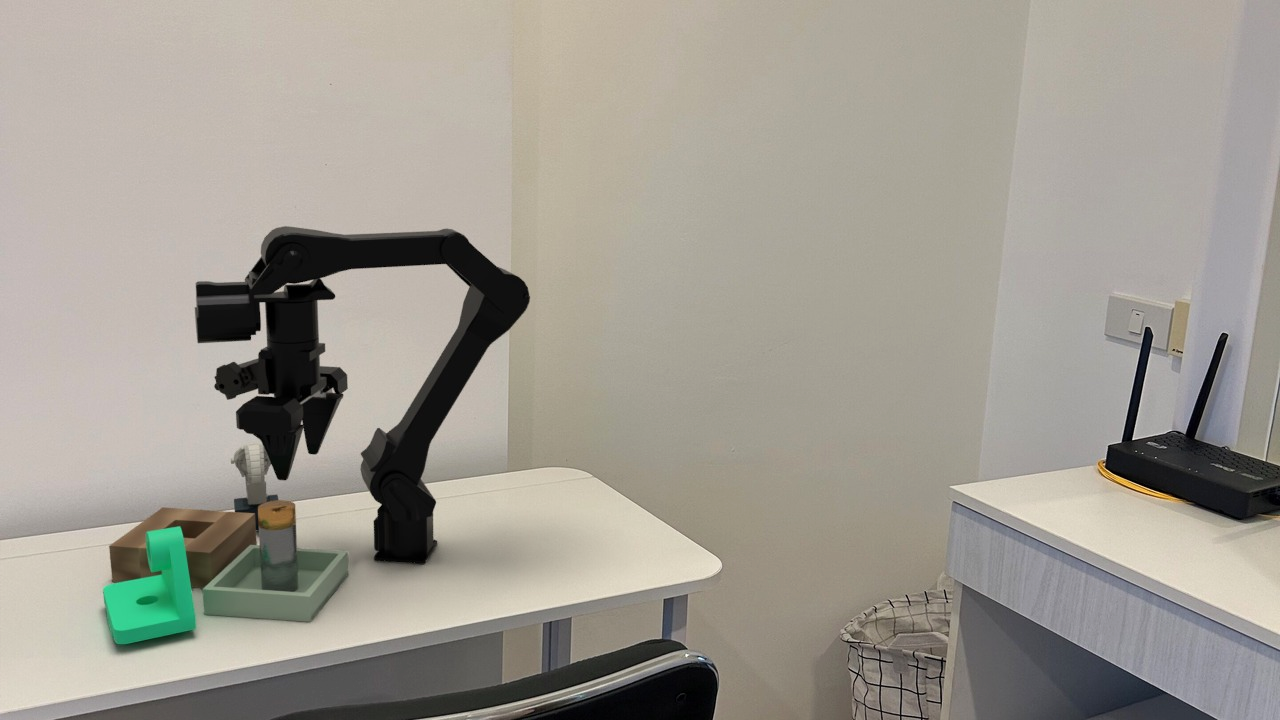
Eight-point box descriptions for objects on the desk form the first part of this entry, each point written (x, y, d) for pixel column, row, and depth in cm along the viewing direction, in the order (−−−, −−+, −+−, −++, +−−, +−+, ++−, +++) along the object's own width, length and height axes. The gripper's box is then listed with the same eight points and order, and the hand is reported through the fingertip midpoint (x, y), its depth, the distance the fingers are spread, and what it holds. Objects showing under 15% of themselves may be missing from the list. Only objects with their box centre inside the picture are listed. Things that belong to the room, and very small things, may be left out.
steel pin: (270, 579, 124) (267, 499, 121) (303, 582, 123) (300, 501, 121) (255, 594, 120) (251, 512, 117) (289, 597, 119) (286, 514, 117)
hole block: (256, 546, 134) (254, 513, 133) (212, 588, 122) (209, 552, 121) (165, 540, 135) (162, 507, 134) (112, 581, 123) (109, 545, 122)
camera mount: (103, 607, 117) (95, 520, 115) (177, 592, 121) (171, 508, 119) (116, 655, 108) (108, 562, 105) (196, 638, 112) (190, 547, 109)
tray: (348, 574, 127) (347, 551, 126) (310, 621, 115) (309, 596, 115) (251, 567, 128) (250, 544, 127) (204, 614, 116) (202, 589, 116)
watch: (277, 510, 145) (273, 434, 143) (281, 532, 138) (278, 453, 136) (233, 515, 143) (229, 438, 141) (236, 538, 136) (231, 457, 134)
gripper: (259, 318, 131) (265, 438, 135) (185, 352, 113) (194, 490, 117) (347, 323, 130) (350, 443, 134) (286, 358, 112) (292, 496, 116)
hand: (298, 466), depth 125 cm, fingers open, 9 cm apart
